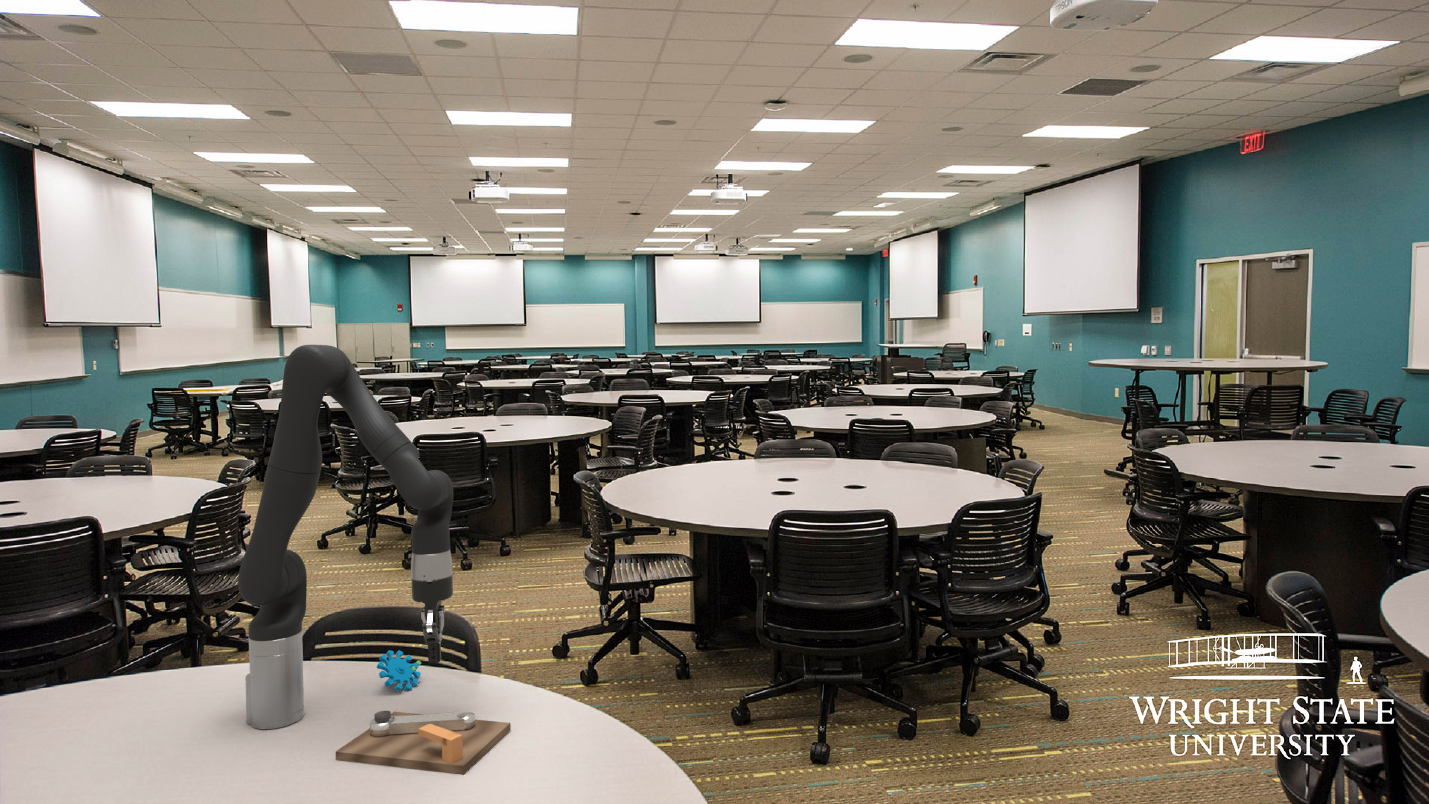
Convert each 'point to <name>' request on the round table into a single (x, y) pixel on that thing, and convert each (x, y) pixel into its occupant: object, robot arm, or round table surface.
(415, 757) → the base plate
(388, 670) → the gear
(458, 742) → the block
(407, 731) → the lever
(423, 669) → the round table surface
